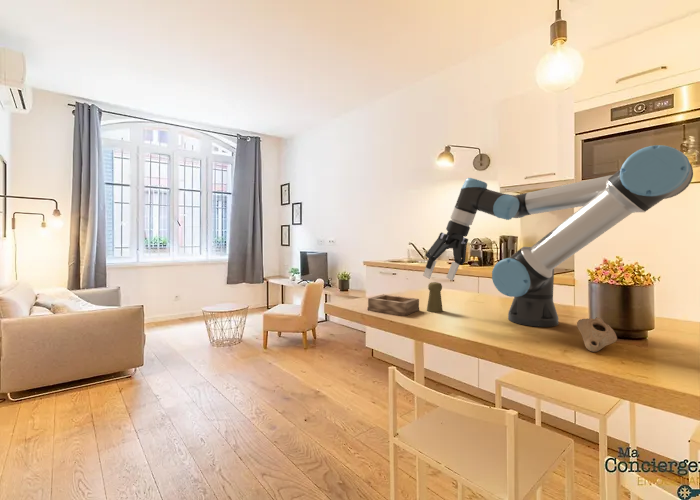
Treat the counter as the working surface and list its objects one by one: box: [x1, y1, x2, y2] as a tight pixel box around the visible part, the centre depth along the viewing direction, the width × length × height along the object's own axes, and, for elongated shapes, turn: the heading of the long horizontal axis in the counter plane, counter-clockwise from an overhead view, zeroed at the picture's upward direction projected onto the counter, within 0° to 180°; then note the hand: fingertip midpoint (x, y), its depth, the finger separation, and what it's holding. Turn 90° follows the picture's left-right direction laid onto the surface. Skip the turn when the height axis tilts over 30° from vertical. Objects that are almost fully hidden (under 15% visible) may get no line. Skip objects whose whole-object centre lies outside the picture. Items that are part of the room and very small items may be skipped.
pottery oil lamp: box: [576, 317, 618, 353], centre depth 92 cm, size 9×12×7 cm
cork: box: [426, 281, 444, 314], centre depth 135 cm, size 6×6×11 cm
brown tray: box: [367, 293, 420, 317], centre depth 135 cm, size 16×12×4 cm
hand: (438, 278), depth 127 cm, fingers open, 13 cm apart
